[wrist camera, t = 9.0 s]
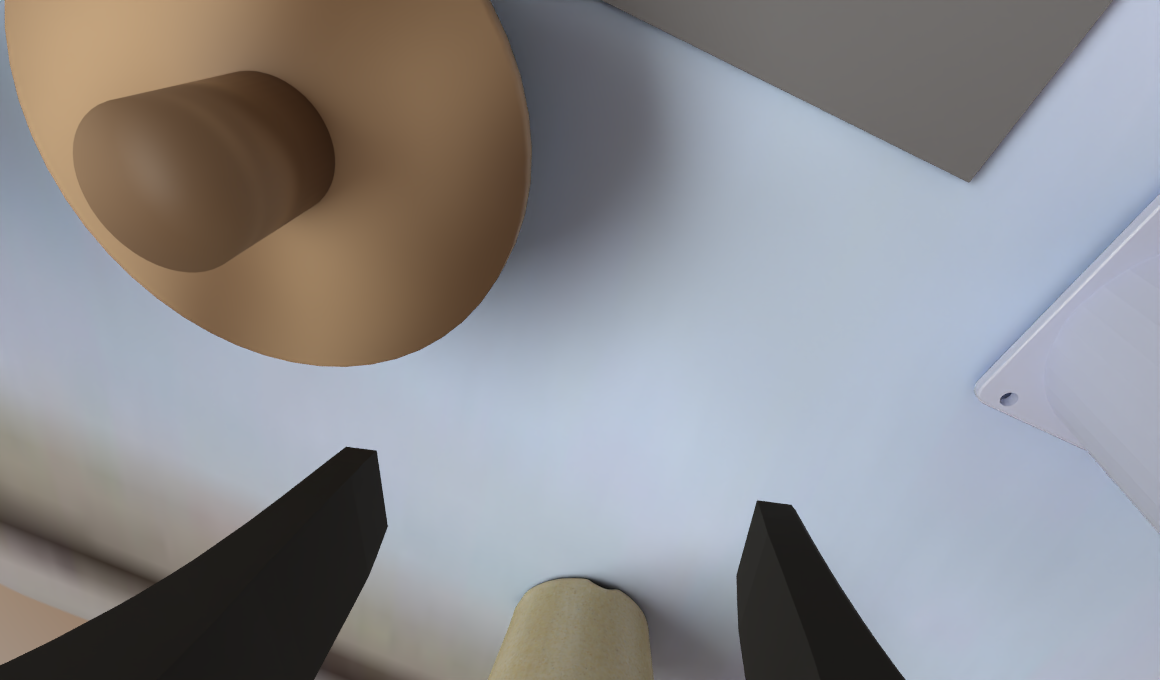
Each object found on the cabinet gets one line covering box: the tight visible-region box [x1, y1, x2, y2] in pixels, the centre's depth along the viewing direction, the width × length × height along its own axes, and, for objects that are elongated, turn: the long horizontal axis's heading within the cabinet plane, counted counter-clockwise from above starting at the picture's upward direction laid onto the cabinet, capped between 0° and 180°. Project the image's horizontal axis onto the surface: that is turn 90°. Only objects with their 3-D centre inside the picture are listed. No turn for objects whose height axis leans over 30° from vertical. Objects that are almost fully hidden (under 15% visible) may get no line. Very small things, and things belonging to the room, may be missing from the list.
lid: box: [5, 0, 532, 367], centre depth 13 cm, size 12×12×4 cm
